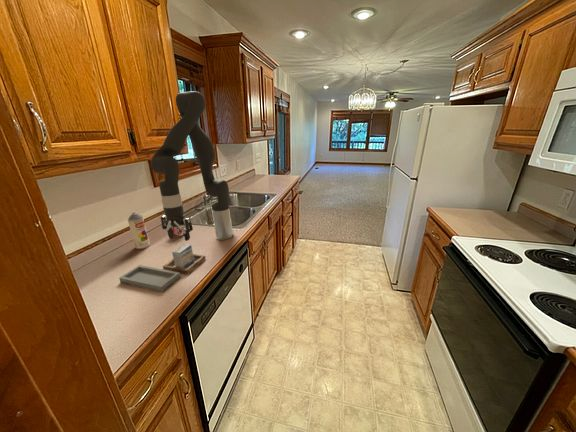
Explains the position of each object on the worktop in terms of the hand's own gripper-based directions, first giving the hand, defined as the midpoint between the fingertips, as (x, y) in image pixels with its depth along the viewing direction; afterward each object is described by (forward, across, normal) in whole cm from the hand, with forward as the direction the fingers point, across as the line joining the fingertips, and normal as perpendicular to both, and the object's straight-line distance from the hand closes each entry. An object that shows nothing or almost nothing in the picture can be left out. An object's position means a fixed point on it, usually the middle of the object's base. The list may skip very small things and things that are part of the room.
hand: (179, 238), depth 107 cm
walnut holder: (+13, 0, 0) cm, 13 cm away
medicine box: (+14, 0, 0) cm, 14 cm away
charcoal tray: (+14, +6, +14) cm, 20 cm away
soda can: (+13, +26, -26) cm, 39 cm away
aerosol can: (+14, +35, -9) cm, 39 cm away
